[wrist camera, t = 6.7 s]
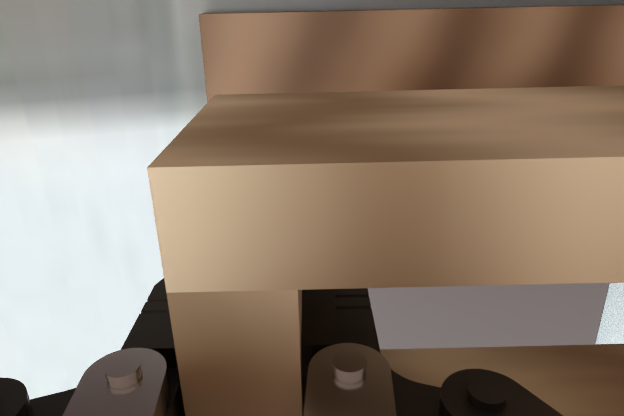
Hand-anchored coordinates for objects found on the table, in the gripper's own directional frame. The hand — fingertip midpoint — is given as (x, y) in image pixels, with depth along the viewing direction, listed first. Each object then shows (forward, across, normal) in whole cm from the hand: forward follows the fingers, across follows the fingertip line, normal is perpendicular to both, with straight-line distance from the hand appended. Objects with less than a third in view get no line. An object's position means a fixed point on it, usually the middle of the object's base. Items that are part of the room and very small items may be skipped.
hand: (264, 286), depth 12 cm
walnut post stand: (+17, -8, 0) cm, 18 cm away
